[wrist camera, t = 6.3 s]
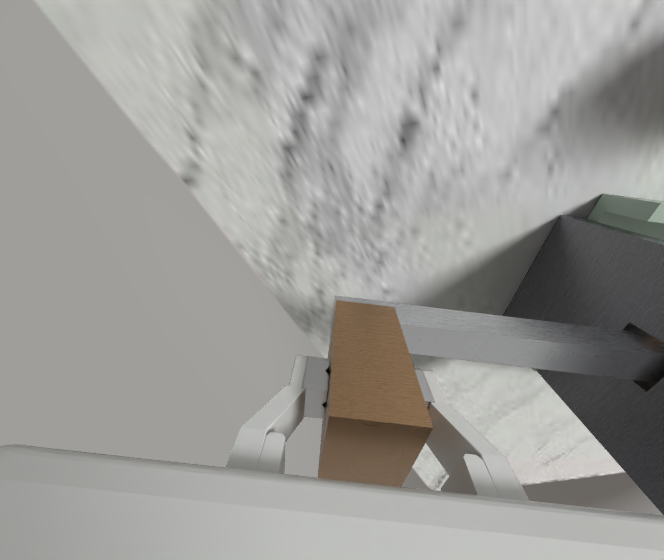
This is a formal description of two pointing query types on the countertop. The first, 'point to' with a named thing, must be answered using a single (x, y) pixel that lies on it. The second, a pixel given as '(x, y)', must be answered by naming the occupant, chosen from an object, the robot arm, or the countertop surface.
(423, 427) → the shaft
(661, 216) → the tray
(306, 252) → the countertop surface
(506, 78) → the countertop surface
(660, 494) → the bearing plate
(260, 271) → the countertop surface
